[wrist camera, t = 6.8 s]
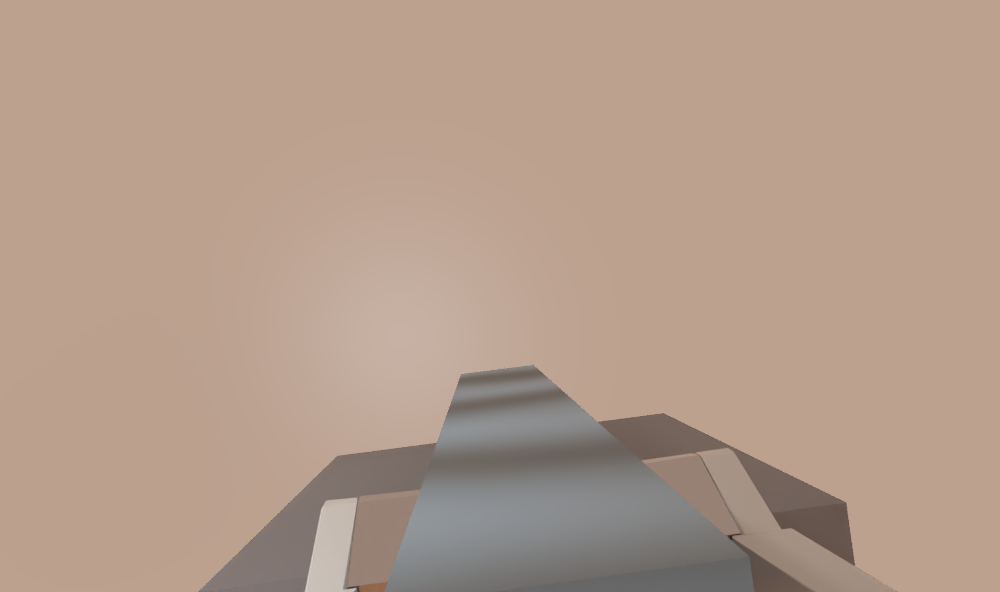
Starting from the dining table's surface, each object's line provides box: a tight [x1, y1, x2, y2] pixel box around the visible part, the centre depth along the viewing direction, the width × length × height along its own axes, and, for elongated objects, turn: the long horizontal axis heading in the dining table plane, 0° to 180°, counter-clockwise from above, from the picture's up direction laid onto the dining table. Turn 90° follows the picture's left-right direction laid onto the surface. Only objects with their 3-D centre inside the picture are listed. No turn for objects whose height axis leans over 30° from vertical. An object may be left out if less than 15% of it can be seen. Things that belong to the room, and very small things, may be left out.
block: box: [384, 365, 754, 592], centre depth 16 cm, size 22×3×2 cm, turn 2°
